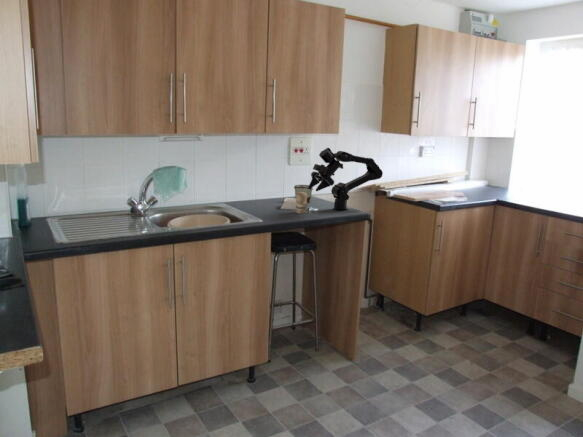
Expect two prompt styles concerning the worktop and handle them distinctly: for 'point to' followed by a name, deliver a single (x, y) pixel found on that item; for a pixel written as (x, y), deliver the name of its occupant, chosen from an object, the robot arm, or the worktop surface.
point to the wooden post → (301, 202)
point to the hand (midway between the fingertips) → (312, 189)
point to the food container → (304, 189)
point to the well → (289, 204)
